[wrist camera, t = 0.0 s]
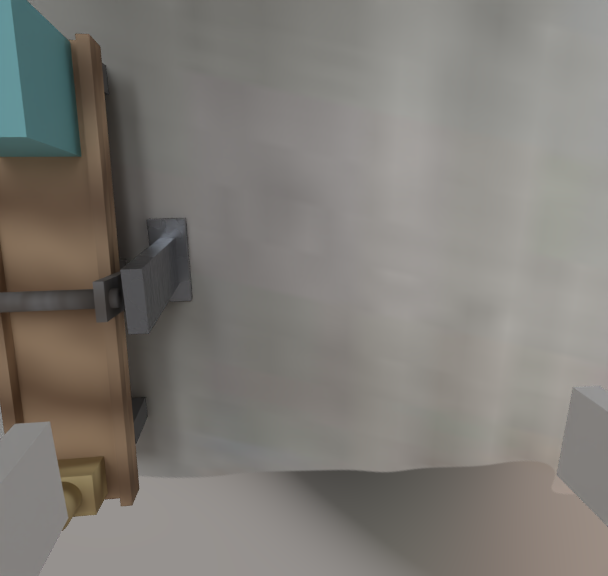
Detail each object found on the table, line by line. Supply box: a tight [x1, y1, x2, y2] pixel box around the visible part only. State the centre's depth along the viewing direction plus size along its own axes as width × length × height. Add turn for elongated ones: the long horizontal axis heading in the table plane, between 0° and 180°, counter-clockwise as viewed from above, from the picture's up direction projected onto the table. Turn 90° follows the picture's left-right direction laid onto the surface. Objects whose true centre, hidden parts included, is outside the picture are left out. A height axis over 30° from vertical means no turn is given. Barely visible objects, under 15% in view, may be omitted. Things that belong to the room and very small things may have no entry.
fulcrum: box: [120, 218, 192, 334], centre depth 31 cm, size 7×16×12 cm, turn 90°
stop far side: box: [131, 398, 148, 444], centre depth 38 cm, size 2×6×4 cm, turn 90°
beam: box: [0, 34, 139, 531], centre depth 30 cm, size 32×11×11 cm, turn 0°
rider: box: [0, 0, 82, 157], centre depth 24 cm, size 7×5×7 cm
